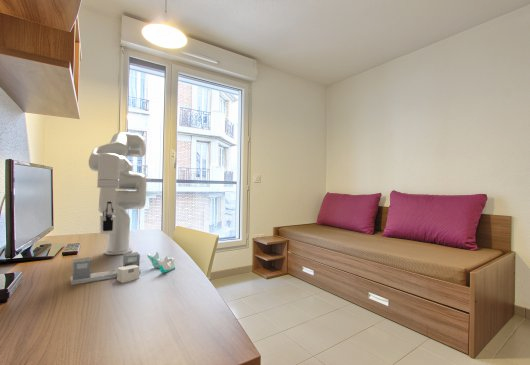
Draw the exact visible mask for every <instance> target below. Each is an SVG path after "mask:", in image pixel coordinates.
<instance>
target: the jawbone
mask: <svg viewBox="0 0 530 365" xmlns="http://www.w3.org/2000/svg"><path fill="white" fill-rule="evenodd" d="M159 255H160V253H159V252H158V251H155V255H154V256H152V255H151V253H148V254H147V255H146V256H147V258H148V259H149V261H150V262H151V264H152V266H153V268H154V269H155V268H156V269H157V268H158V269H159V270H160V273H161V274H165V273H167V272H170V271H173V270H174V269H175V268H176V266H175V264H174V263H175V259H174V257H169V256H165V258H164V259H163V260H161V259H160V256H159Z"/></svg>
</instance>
